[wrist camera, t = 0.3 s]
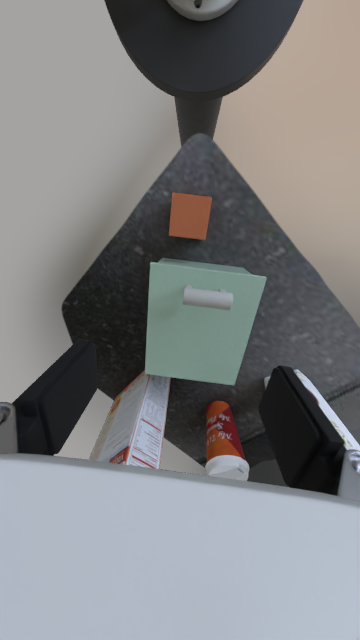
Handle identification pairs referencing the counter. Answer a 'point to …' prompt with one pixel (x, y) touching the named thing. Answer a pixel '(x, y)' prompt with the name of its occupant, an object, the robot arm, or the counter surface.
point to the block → (189, 216)
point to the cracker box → (135, 424)
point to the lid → (199, 322)
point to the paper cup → (224, 444)
